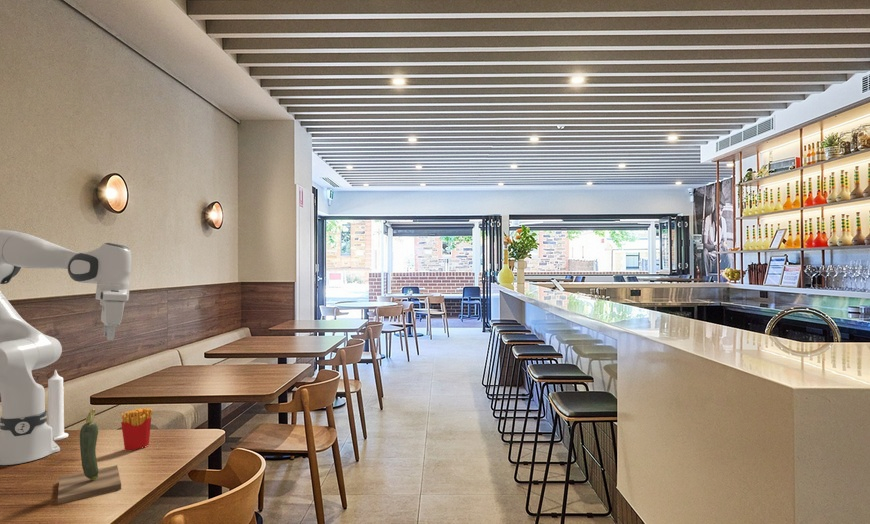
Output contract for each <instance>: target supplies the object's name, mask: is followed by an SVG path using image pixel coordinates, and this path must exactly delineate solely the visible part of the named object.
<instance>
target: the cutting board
mask: <svg viewBox="0 0 870 524" xmlns="http://www.w3.org/2000/svg"><path fill="white" fill-rule="evenodd" d="M58 479H59V481H58V491H57V505H60V504H65V503H68V502H73V501H77V500H82V499H85V498H89V497H94V496H98V495H102V494H106V493H111V492H114V491H119V490H122V482H121V477H120V472H119V466H118V464H116V465H112V466H107V467H100V468H98V477H97V478H96V480H95V479H92V480H90V479H89V478H87V477H86V476H85V474H84V471H81V472H78V473H74V474H73V473H72V474H69V475H68V474H67V475H63V476H60V477H59V478H58Z"/></svg>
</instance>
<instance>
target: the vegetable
mask: <svg viewBox="0 0 870 524" xmlns="http://www.w3.org/2000/svg"><path fill="white" fill-rule="evenodd" d="M95 413H96V408H94V407H92V408H91V409H90V411H89V412H88V414H87V415H86V418H85V423H84V424H83V425H82V426H81V427H80V430H79V448H80V457H81V466H82V467H81V469H82V472H84V474H85V476H86V477H87V478H89V479H90V480H92V479H95V480H96V478H97V477H98V469H99V467H98V462H97V461H98V460H97V455H96V449H97V448H96V447H97V441H98V436H99V426H98V424H97V423H96V422H93V421H94V420H95Z"/></svg>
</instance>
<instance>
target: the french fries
mask: <svg viewBox="0 0 870 524" xmlns="http://www.w3.org/2000/svg"><path fill="white" fill-rule="evenodd" d="M124 413H125V414H124ZM152 414H153V408H151V407H149V408H146V407H142V408H141V407H139V408H135V410H126V411H125V412H122V413H121V420H122V421H121V422H120V423H121V425H120V426H121V433H122V439H123V445H124V446H123V447H124V450H133V451H135V450H134V449H138V448H142V447H145V446H147V445H149V446H150V437H151V435H150V434H151V425H152ZM142 449H143V448H142ZM138 450H139V449H138Z"/></svg>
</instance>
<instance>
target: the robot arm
mask: <svg viewBox="0 0 870 524" xmlns="http://www.w3.org/2000/svg"><path fill="white" fill-rule="evenodd" d="M132 259H133V258H132V251H131V250H130V248H129V247H128V246H126V245H122V244H118V243H111V242H105V243H102V244H101V245H100V246H99V247H97V248H95V249H92V250H89V251H85V252H84V251H83V252H80V251H76V250H72V249H69V248H66V247H64V246H61V245H59V244H56V243H53V242H51V241H48V240H46V239H44V238H42V237H38V236H36V235H33V234H29V233H27V232H21V231H16V230H11V229H10V230H9V229H0V285H6V284H8V283H10V282H11V280H12V278H14V277H15V276H17V274H18V273H19V272H20V271H21V269H22V268H24V269H58V270H59V269H61V270H62V269H64V270H67V273H68V275H69V277H70V278H71V279H72V280H73V281H75V282H77V283H82V284H95V285H96V289H95V300H98V301H99V305H100V306H102V307H101V315H100V322H101V323H102V324H103V331H104V332H103V337H104V338H106V340H107V341H114V340H115V334H116V329H117V326H120V325H121V323H122V320H123V319H122V318H123V316H124V315H123V314H124V309H125V303H126V302H127V301H129V298H130V287H131V285H130V284H131V283H130V276H131V272H132V263H133V262H132ZM62 346H63V345H62V344H61V342H60V340H58V339H57V338H56V337H53V336H50V335H47V334H44V333H43V332H42V331H39V330H38V329H36V328H35V327H34V326H32V325H31V324H30V323H29V322H27V321H26V320H25V319H23V318H22V316H21V315H20V314H19V313H18V311H17V310H16V308H15V307H13V305H12V304H11V303H10V301H9V300H8V298H7V297H6V296H5V295H4V294H3V292H2V291H1V289H0V404H1V417H0V466H8V465H9V466H11V465H18V464H24V463H27V462H28V463H29V462H32V461H36V460H38V459H42V458H45V457H47V456H49V455H51V454H56V453H57V452H60V451H61V447H60V446H59V445H58V444H57V443H56V442H55V441H53V440H54V437H52V427H50V426H49V423H47V422H48V413H47V410H46V397H45V396H46V395H45V392H46V391H45V387H44V386H43V384H39V383H38V382H36V380H35V379H34V376H33V372H32V371H34V370H38V369H42V368H45V367H47V366H50V365H52V364H53V363H55V362H57V361H58V360H59V359H60V357H61V356H62V353H63V347H62Z"/></svg>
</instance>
